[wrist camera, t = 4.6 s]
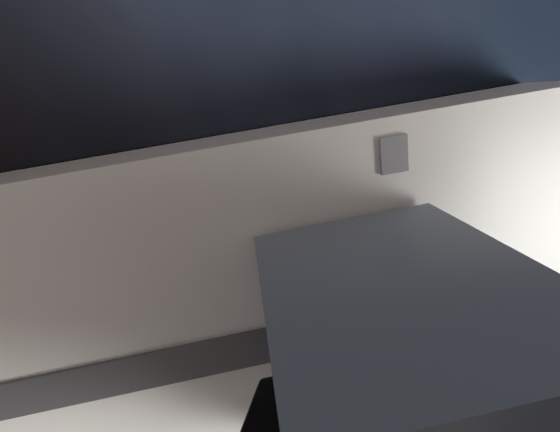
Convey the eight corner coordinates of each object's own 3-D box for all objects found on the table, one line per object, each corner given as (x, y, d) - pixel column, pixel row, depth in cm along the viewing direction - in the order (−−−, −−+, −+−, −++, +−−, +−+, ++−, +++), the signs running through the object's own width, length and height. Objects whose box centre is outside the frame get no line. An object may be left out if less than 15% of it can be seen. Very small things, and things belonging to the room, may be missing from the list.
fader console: (502, 359, 13) (562, 418, 11) (-230, 525, 12) (-353, 638, 9) (521, 82, 10) (614, 77, 8) (-497, 258, 8) (-801, 325, 6)
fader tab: (431, 403, 10) (611, 682, 5) (293, 435, 10) (348, 758, 5) (428, 203, 8) (716, 358, 3) (253, 236, 8) (283, 462, 3)
